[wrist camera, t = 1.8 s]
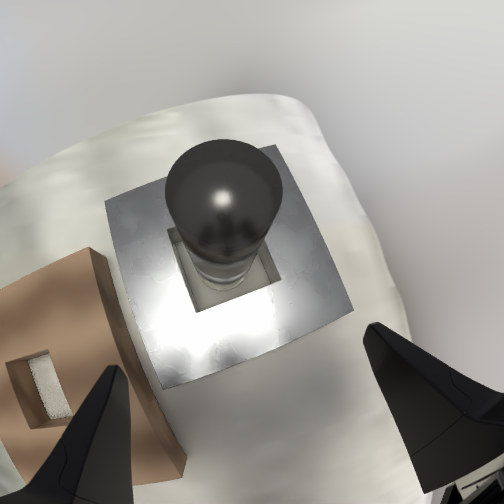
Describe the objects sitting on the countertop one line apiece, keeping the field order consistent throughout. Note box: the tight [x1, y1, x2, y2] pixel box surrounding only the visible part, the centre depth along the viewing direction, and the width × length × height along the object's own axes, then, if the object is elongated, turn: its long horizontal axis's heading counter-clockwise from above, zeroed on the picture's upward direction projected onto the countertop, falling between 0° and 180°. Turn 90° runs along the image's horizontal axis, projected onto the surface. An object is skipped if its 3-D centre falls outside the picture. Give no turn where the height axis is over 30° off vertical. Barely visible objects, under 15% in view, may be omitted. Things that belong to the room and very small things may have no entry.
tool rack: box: [0, 247, 187, 486], centre depth 15 cm, size 18×18×4 cm
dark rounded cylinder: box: [165, 139, 283, 291], centre depth 15 cm, size 4×4×13 cm
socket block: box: [105, 144, 354, 390], centre depth 20 cm, size 14×14×4 cm
